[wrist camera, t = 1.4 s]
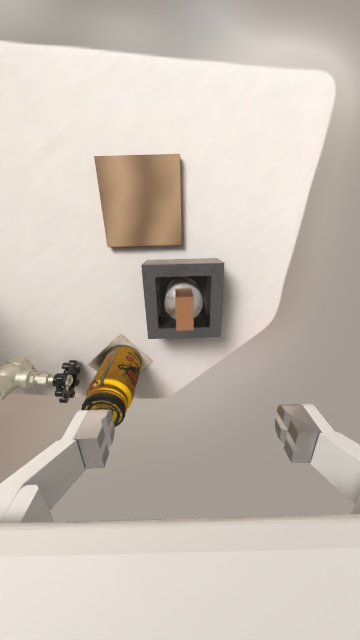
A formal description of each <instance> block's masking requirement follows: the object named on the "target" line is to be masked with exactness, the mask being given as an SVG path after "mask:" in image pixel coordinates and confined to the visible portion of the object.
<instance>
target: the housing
mask: <svg viewBox="0 0 360 640" xmlns="http://www.w3.org/2000/svg"><path fill="white" fill-rule="evenodd" d="M142 276H143V287H144V298H145V308H146V319H147V330H148V339H162V338H197V337H220V335H221V316H222V296H223V277H224V262H222V261H221V260H219V259H217V258H209V259H173V260H147V261H146V262H144V263H143V264H142ZM179 276H206V308H205V314H198V315H197V316H196V317H195V318H194V330H182V331H176V319H174V318H172V317H171V316H170V315H163V316H161V307H160V291H159V277H179Z"/></svg>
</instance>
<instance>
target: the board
mask: <svg viewBox="0 0 360 640" xmlns="http://www.w3.org/2000/svg"><path fill="white" fill-rule="evenodd" d="M94 158H95V165H96V172H97V178H98V185H99V192H100V199H101V205H102V212H103V219H104V226H105V233H106V239H107V246H108V247H119V246H155V245H182V229H181V183H180V154H161V155H125V156H94Z"/></svg>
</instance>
